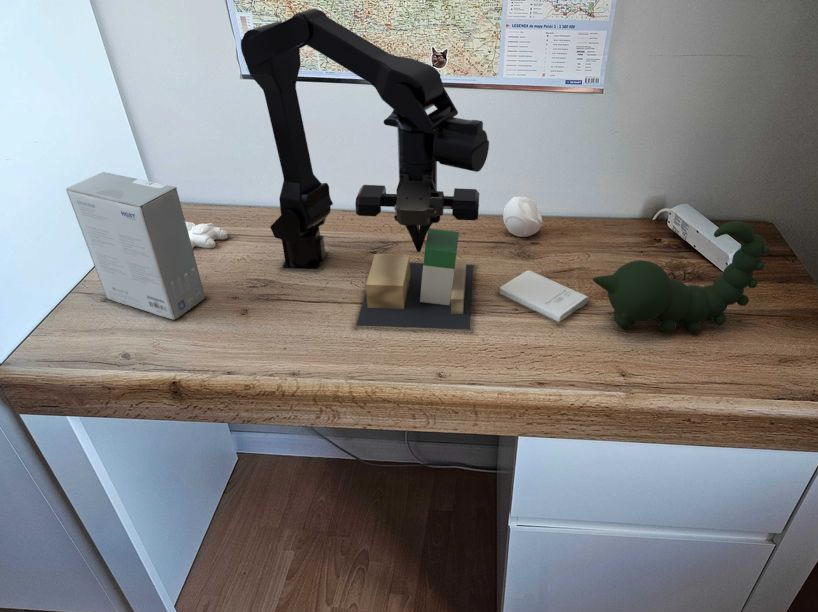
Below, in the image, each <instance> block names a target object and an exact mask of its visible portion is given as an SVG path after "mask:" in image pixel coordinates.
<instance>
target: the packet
mask: <svg viewBox="0 0 818 612" xmlns="http://www.w3.org/2000/svg"><path fill="white" fill-rule="evenodd" d="M459 234H460V232H459V231H455V230H446V229H439V228H438V229H437V228H431V227H430V228H429V230H428V232H427V234H426V241H425V246H424V253H423V262H422V263H423V273H422V284H421V295H420V302H425V303H433V304H441V305H450V301H451V293H452V285H453V277H454V269H455V261H457V254H458V244H459V236H460V235H459Z"/></svg>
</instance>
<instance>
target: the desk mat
mask: <svg viewBox="0 0 818 612" xmlns="http://www.w3.org/2000/svg"><path fill="white" fill-rule="evenodd" d="M423 263H424V262H421V263H420V262H410V282H409V287H408V292H407V297H406V302H405V307H404V309H389V308H368V305H367V293H366V292H365V294H364V297H363V301H362V304H361V308H360V310H359V314H358V317H357V320H356V321H357V322H356V324H355V325H356V326H358V327H360V326H361V327H383V328H384V327H387V328H388V327H389V328H411V329H412V328H413V329H414V328H415V329H442V330H443V329H444V330H467V331H468V330H469V331H470V329H471V313H472V299H473V298H472V297H473V282H474V264H466V284H465V297H464V310H463V315H462V314H451V301H450V305H441V304H433V303H425V302H420V295H421V284H422V273H423Z"/></svg>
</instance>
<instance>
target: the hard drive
mask: <svg viewBox="0 0 818 612" xmlns="http://www.w3.org/2000/svg"><path fill="white" fill-rule="evenodd" d="M498 290H499V291H498V293H499V295H501V296H503V297H505V298H508V299H509V300H511V301H514V302H516V303H518V304H519V305H522V306H524V307H527V308H529V309H530V310H532V311H535V312H536V313H539V314H541V315H543V316H545V317H547V318H550V319H551V320H554V321H555V322H558V323H560V322H561V321H563V320H564V319H565V318H567V317H568V316H570V315H571V314H573V313H574V312H575V311H576V310H578V309H579V310H581V308H583V307H584V306H585V305H587V303H588V300H589V296H588V295H585V294H583V293H582V292H581V293H580V292H579V291H576V290H574V289H572V288H570V287H567V286H565V285H564V284H561V283H558V282H556V281H554V280H553V279H550V278H547V277H546V276H543V275H541V274H539V273H537V272H534V271H532V270H529V269H528V270H525V271H523V272H522V273H520V274H519V275H517V276H516V277H514V278H512V279H510V280H509V281H508V282H506V283H504V284H503V285H501V286H500V287H499V289H498Z"/></svg>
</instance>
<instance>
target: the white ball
mask: <svg viewBox="0 0 818 612" xmlns="http://www.w3.org/2000/svg"><path fill="white" fill-rule="evenodd" d="M537 205H538V201H537V200H534V199H532V198H528V197H525V196H518V195H516V196H514V197H512V198H511V199H510V200H508V202H507V203H506V204H505V206H504V208H503V214H502V220H503V223H504V226H505V228H506V230H507V231H508V232H509V233H510V234H512V235H514V236H515V237H519V238H520V237H521V238H526V237H530V236H533V235H534V234H536V233H538V232H539V231H540V229H541V227H542V226H543V224H544V221H543V217H542V213H541V212H540V210H539V208H538V207H537Z"/></svg>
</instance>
